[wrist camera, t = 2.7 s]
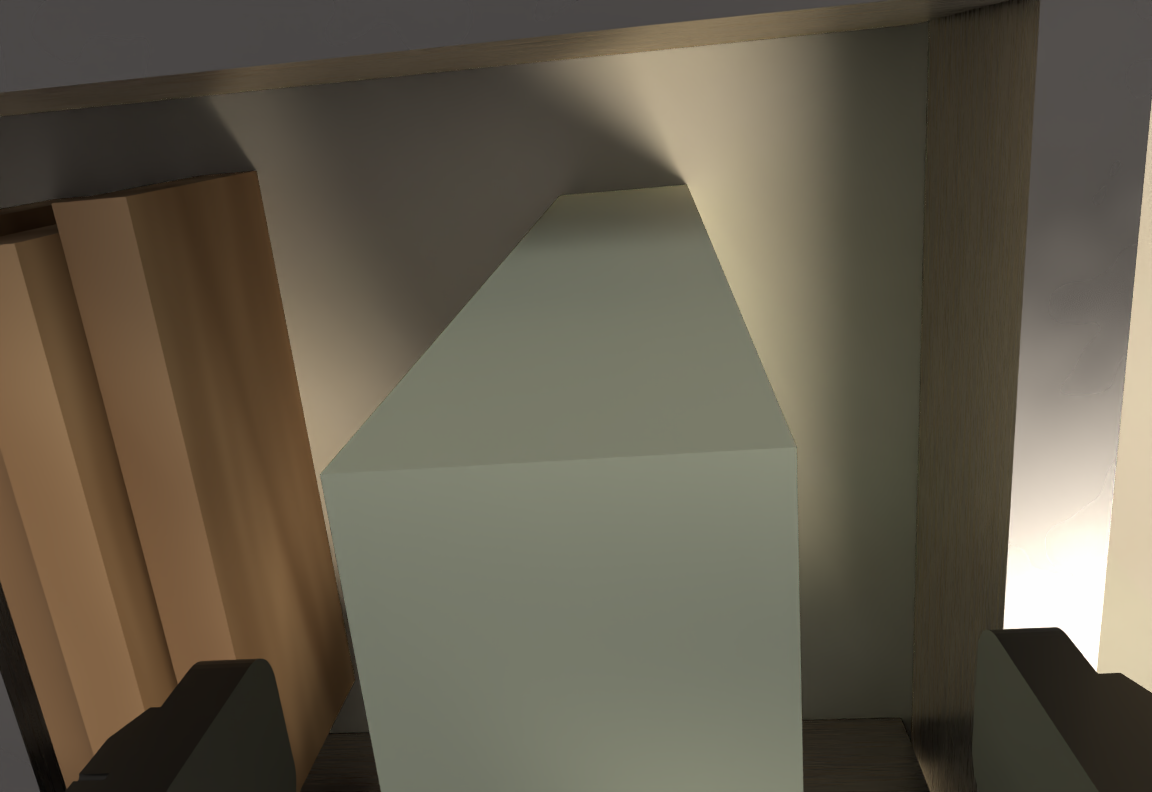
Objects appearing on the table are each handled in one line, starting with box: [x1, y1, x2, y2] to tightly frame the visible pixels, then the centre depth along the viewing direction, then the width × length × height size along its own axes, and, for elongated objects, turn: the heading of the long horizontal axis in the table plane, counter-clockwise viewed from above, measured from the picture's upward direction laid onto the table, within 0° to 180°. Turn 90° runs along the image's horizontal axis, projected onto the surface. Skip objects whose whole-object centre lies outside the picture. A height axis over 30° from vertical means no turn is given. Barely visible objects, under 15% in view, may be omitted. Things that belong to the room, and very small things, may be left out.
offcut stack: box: [0, 171, 355, 792], centre depth 18 cm, size 4×12×6 cm, turn 5°
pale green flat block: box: [320, 184, 803, 792], centre depth 13 cm, size 2×10×14 cm, turn 5°
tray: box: [0, 0, 1152, 792], centre depth 17 cm, size 22×18×7 cm
